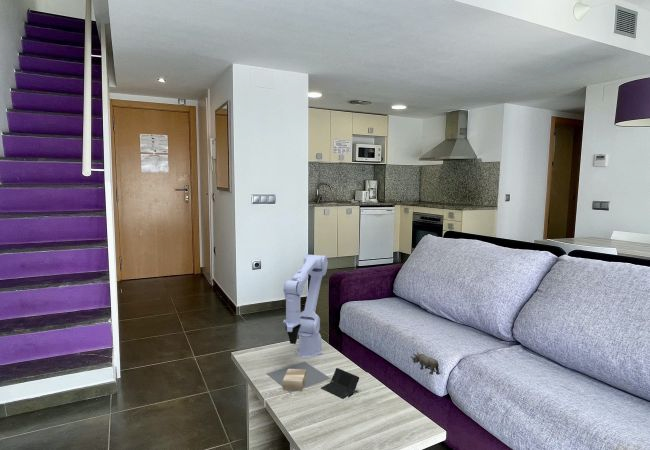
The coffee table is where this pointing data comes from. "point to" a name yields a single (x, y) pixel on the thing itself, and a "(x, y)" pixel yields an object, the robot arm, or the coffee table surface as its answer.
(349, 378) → the handheld gaming console
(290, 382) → the maple slab
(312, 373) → the charcoal mat
